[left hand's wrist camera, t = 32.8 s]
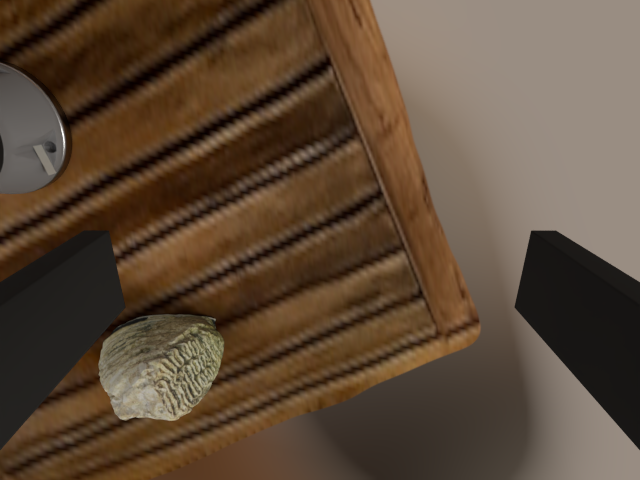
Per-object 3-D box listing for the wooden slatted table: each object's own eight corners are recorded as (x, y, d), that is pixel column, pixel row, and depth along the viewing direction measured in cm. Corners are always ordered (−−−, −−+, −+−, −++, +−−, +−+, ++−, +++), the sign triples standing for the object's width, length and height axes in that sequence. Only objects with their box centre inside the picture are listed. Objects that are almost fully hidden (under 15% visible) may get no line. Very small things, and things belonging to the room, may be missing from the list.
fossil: (240, 339, 58) (215, 419, 44) (132, 372, 60) (75, 459, 46) (214, 290, 55) (178, 360, 41) (101, 327, 57) (31, 405, 43)
